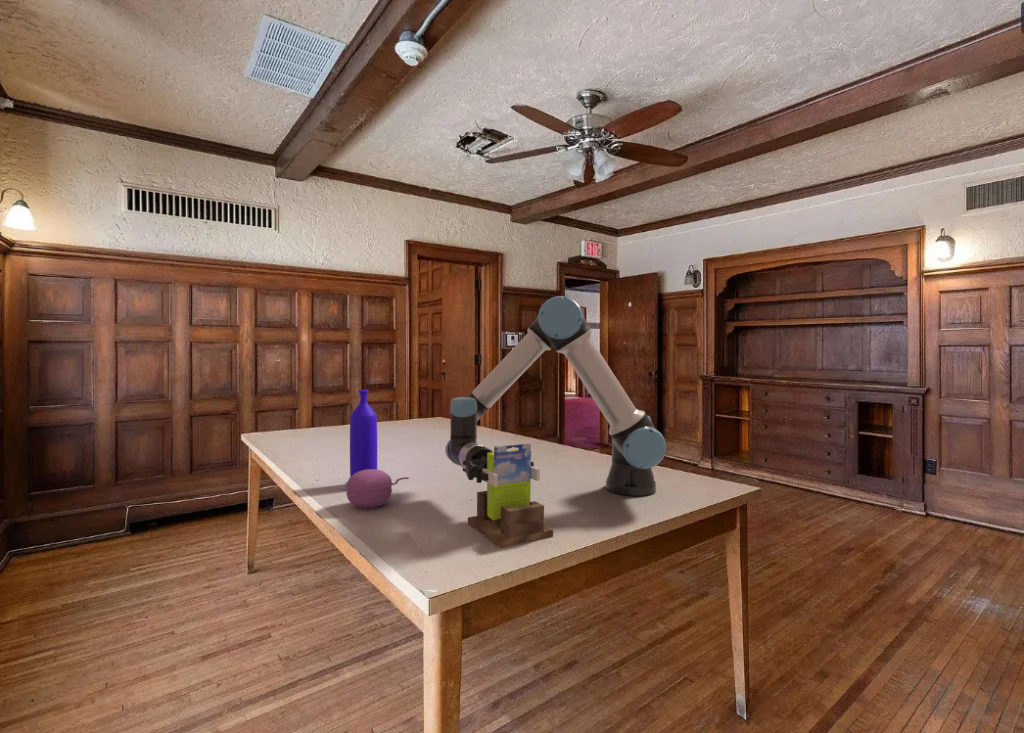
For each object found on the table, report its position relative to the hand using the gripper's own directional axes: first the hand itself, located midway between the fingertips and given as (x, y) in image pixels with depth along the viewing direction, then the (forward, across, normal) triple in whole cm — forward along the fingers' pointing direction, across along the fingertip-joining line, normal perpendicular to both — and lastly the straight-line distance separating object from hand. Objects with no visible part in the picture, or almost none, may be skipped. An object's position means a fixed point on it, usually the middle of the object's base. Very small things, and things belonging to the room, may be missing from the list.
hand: (517, 477), depth 117 cm
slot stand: (-4, 0, -14) cm, 14 cm away
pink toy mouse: (-38, +22, -14) cm, 46 cm away
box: (-4, 0, -10) cm, 11 cm away
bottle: (-60, +22, -14) cm, 65 cm away
